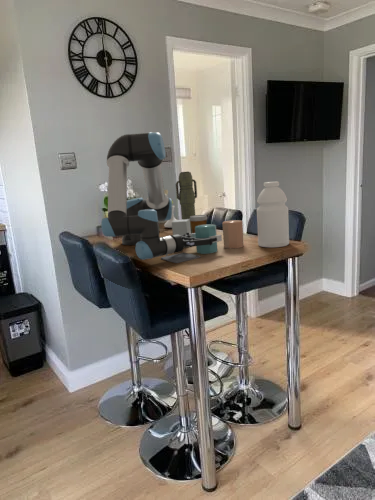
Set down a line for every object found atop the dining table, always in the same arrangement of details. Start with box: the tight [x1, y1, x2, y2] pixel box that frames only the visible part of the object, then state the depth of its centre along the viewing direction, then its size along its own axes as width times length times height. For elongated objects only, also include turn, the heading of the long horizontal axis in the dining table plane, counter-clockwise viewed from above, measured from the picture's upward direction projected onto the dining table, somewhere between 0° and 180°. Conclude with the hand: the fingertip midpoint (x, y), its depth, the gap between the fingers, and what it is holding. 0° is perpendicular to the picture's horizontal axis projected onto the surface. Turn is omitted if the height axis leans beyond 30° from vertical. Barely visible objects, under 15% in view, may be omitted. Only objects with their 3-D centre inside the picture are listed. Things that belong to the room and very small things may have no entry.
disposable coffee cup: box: [190, 214, 208, 233], centre depth 205 cm, size 10×10×12 cm
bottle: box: [256, 181, 290, 248], centre depth 173 cm, size 14×14×28 cm
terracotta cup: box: [222, 219, 245, 249], centre depth 178 cm, size 9×9×11 cm
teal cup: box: [195, 223, 218, 255], centre depth 172 cm, size 9×9×11 cm
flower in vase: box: [163, 188, 178, 229], centre depth 250 cm, size 13×11×25 cm
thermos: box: [175, 171, 198, 234], centre depth 220 cm, size 9×12×35 cm
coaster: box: [160, 252, 201, 264], centre depth 164 cm, size 12×12×1 cm
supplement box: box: [171, 219, 191, 248], centre depth 188 cm, size 7×7×13 cm
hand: (211, 236), depth 173 cm, fingers open, 13 cm apart
